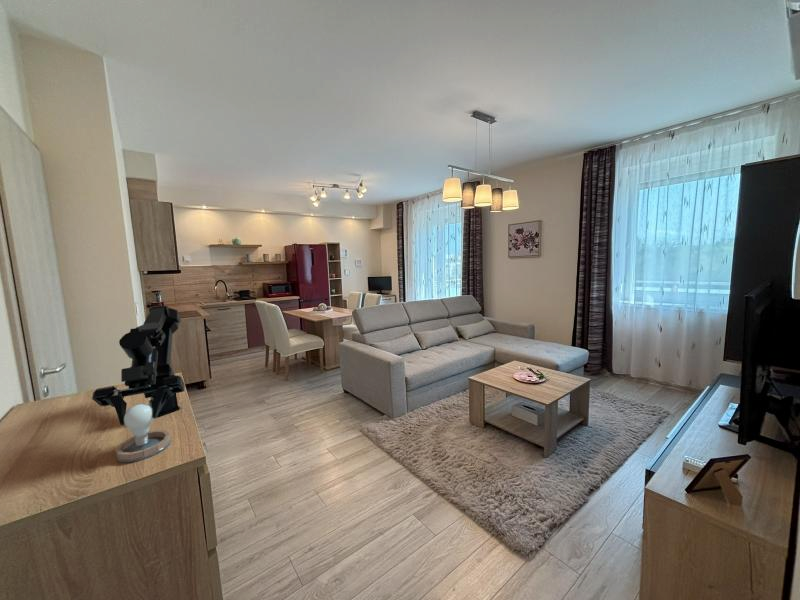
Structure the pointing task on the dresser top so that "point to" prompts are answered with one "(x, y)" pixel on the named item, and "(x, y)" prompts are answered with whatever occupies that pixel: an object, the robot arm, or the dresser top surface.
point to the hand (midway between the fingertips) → (138, 421)
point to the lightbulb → (139, 422)
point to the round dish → (143, 447)
